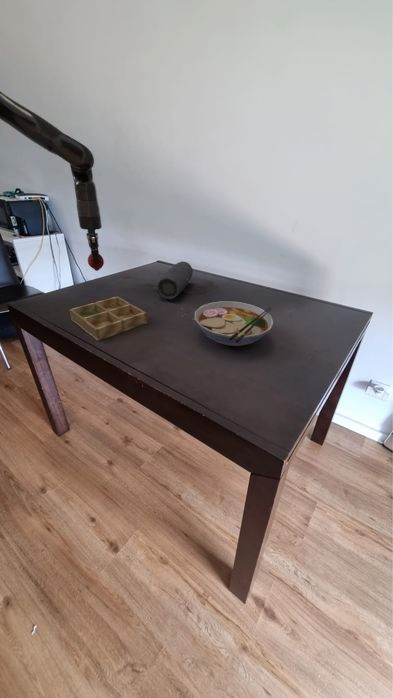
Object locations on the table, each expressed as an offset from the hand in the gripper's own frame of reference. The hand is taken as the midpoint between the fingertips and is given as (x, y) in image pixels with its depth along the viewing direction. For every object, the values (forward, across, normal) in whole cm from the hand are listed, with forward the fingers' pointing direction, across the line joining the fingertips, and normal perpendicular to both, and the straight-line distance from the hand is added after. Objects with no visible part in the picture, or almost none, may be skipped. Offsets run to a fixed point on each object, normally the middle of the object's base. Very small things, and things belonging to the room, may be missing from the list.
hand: (95, 261), depth 110 cm
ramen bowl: (+11, +52, +34) cm, 63 cm away
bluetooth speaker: (+11, +11, +29) cm, 33 cm away
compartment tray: (+11, +30, +1) cm, 32 cm away
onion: (+4, 0, 0) cm, 4 cm away
